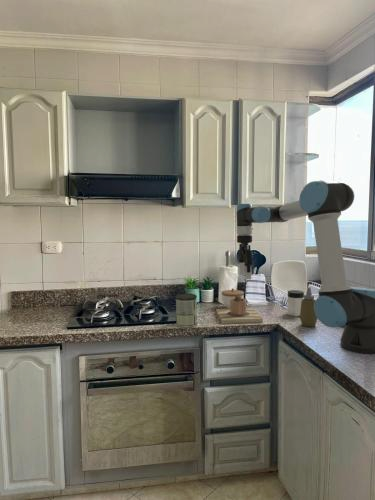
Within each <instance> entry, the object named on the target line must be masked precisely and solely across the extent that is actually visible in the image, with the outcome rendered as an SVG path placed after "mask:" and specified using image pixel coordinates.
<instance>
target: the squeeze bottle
mask: <svg viewBox="0 0 375 500" xmlns="http://www.w3.org/2000/svg"><path fill="white" fill-rule="evenodd" d="M312 293H313V292H312V289H311V287H309V286H308V287H307V288H306V293H304V299H303V300H302V302H301V310H300V316H299V320H300V322H301V325H302V326H304V327H307V328H308V327H309V328H310V327H315V326H316V324H317V321H318V318H317V317H316V315H315V312H314V303H315V302H316V299H315V295H314V294H312Z"/></svg>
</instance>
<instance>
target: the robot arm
mask: <svg viewBox="0 0 375 500" xmlns="http://www.w3.org/2000/svg"><path fill="white" fill-rule="evenodd" d="M354 200H355V191H354V189H353V187H352V186H350V185H349V184H348V183H346V182H343V181H331V180H330V181H329V180H328V181H327V180H313V181H310V182H308V183H307V184H305V185H304V186H303V188H302V190H301V191H300V194H299V200H296V201H291V202H289V203H286V204H281V205H277V206H263V205H261V206H254V207H253V205H252V203H238V204H237V205H236V243H238V245H239V247H238V257H237V261H238V262H239V264H238V268H239V270H238V271H239V273H238V274H239V276H244V277H245V278H244V279H245V280H252V266H253V259H252V250H251V245H250V244H252V242H253V235H252V234H253V230H254V228H253V224H256V223H257V224H264V223H285V222H288V221H290V220H293V219H299V218H303V217H306V216H307V219H308V220H309V221H310V222H311V223H312V224H313V230H314V231H313V232H314V238H315V244H316V245H315V246H316V252H317V259H318V269H319V274H320V282H321V287H320V288H319V289H318V290H317V291H318V297H317V298H316V299H315V300H316V302H315V303H314V312H315V315H316V317H317V318H318V319H317V321H319V322H321V323H320V324H322V325H324V326H326V327H328V328H342V327H344V329H343V331H342V334H341V336H340V347H342V348H343V349H345V350H347V351H351V352H354V353H360V354H367V355H368V354H371V355H372V354H375V289H374V288H373V289H372V288H366V287H358V286H351V285H349V284H348V282H347V277H346V275H347V274H346V270H345V263H344V262H345V261H344V255H343V249H342V243H341V242H342V241H341V235H340V227H339V221H338V220H339V218H340V216H342V212H344V211H346V210H348V209H349V208H351V206H352V205H353V203H354Z"/></svg>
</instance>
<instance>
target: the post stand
mask: <svg viewBox="0 0 375 500" xmlns="http://www.w3.org/2000/svg"><path fill="white" fill-rule="evenodd" d="M235 301H241V296H235ZM246 310H247V314H246V315H232V314H231V313H230V309H228V308H224V309H223V308H222V309H221V308H220V309H216V310H215V313H216V316H217V318H218V319H219V321H220V323H221V325H226V324H227V325H228V324H255V323H256V324H257V323H264V321H263V320H264V319H263V317H262V316H261V315H260V314H259V313H258V312H257V311H256V310H255V309H254V308H246Z"/></svg>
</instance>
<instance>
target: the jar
mask: <svg viewBox="0 0 375 500" xmlns="http://www.w3.org/2000/svg"><path fill="white" fill-rule="evenodd" d="M304 295H305V292H304V291H303V290H298V289H297V290H296V289H294V290H293V289H291V290H287V315H289V316H293V317H300V310H301V302H302V300H303V299H304Z"/></svg>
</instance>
